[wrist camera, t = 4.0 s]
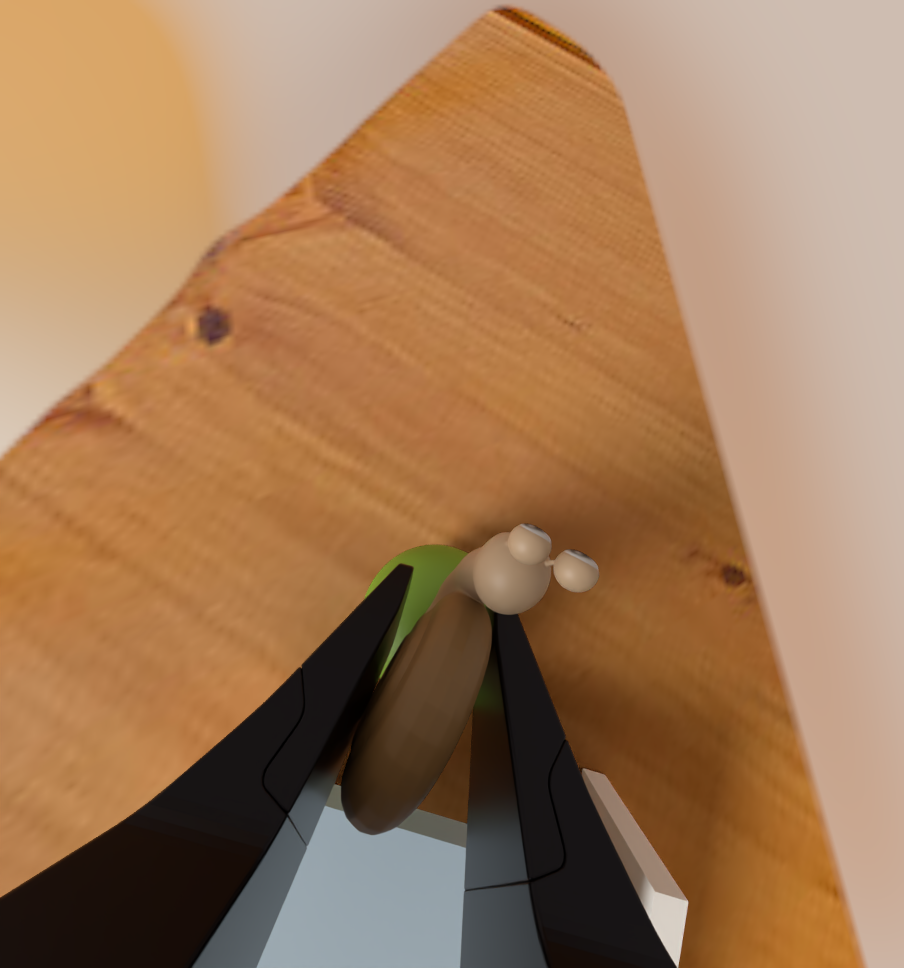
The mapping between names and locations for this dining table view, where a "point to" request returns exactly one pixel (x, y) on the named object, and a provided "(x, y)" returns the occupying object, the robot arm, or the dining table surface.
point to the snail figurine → (442, 664)
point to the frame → (641, 864)
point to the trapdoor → (374, 896)
